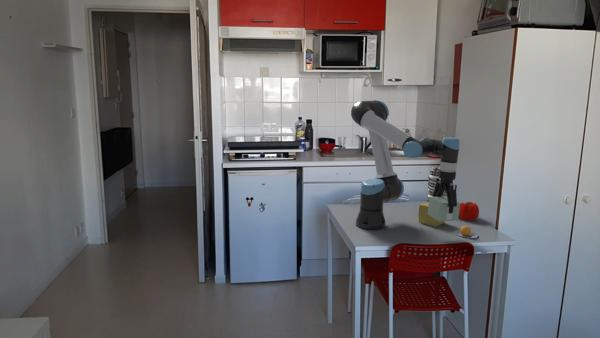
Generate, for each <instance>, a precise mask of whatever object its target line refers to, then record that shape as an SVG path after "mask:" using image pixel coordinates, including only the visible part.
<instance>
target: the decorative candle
mask: <svg viewBox="0 0 600 338" xmlns="http://www.w3.org/2000/svg"><path fill="white" fill-rule="evenodd" d="M429 170H430V171H429V176H428V177H427V178H428V179H427V180H428V181H427V182H428V184H427V185H428V186H427V191H428V194H427V197H426V203H429V197H433V193H434V189H435V186H436V182H437V178H439V171H440V170H441V169H440V166H432V167H431V168H430V169H429ZM441 197H443V195H442V196H441Z"/></svg>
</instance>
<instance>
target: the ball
mask: <svg viewBox="0 0 600 338" xmlns="http://www.w3.org/2000/svg"><path fill="white" fill-rule="evenodd" d="M459 232H461V234H462V235H464V236H468V235H470V234H471V232H472V229H471V227H470V226H469V225H462V227H461V228H460V230H459Z"/></svg>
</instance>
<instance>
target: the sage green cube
mask: <svg viewBox="0 0 600 338" xmlns="http://www.w3.org/2000/svg"><path fill="white" fill-rule="evenodd" d="M454 204H455V203H454ZM460 204H461V202H460V201H458V200H457V206H454V207H453V214H452V220H446V213H447V206H448V200H447V195H446V196H442V197H429V206H428V215H429V216H431V217H433V218H434V219H436V220H437V221H444V222H448V221H449V222H451V221H453V222H454V221H459V208H460Z"/></svg>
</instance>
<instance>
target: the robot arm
mask: <svg viewBox="0 0 600 338" xmlns="http://www.w3.org/2000/svg"><path fill="white" fill-rule="evenodd" d="M350 110H351V111H350V115H351V118H352V120H353V122H354V123H356V124H357V125H358V126H360V127H362V128H364V129H365V130H367V131H368V135H369V139H370V145H371V150H372V154H373V159H374V165H375V169H376V176H375V177H374V178H369V179H365V180H363V181H362V182H361V185H360V199H359V200H360V201H359V202H360V203H359V204H360V205H359V212H358V213H357V216H356V219H355V225H356V226H357V227H359V228H360V229H363V230H372V231H373V230H374V231H376V230H377V231H378V230H383V229H385V228H386V226H387V225H386V219H385V214H384V204H385V203H389V202H394V201H397V200H399V199H400V198H401V197H402V196H403V194H404V191H405V190H404V189H405V185H404V182H403V181H402V180H401V179H400V178H398V173H396V172H395V171H394V168H393V163H392V159H391V158H392V157H391V154H390V153H391V152H390V148H389V143H390V144H392V145H394V146H396V147H397V148H398V149H400V150H402V151H403V152H402V153H404V156H405V157H407V158H408V159H415V158H416V159H418V158H421V157H427V156H436V157H440V160H439V161H440V163H439V167H440V169H441V170H440V171H439V178H437V182H436V186H435V189H434V193H433V197H441V196H442V197H443V194H444V193H446V196H447V200H448V206H447V213H446V220H452V214H453V207H454V206H457V201H458V198H457V187H458V186H457V184H454V183H453V181H454V180H455V181H456V177H457V172H456V171H457V167H458V159H459V150H460V139H459V138H457V137H453V136H445V137H443V138H442V140H439V139H434V138H430V137H422V138H420V139H419V140H418V139H416V138H414V137H413V136H411V135H409V134H408V133H407V132H404V130H403V131H402V129H400V128H397V127H396V126H395V125H393V124H392V123H390V122H388V121H387V119H388V117H389V115H390V112H389V108H388V105H387V104H386V103H385V102H383V101H381V100H376V99H374V100H359V101H357V102H356V103H354V104H353V106H352V107H351V109H350ZM454 203H455V204H454Z"/></svg>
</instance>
